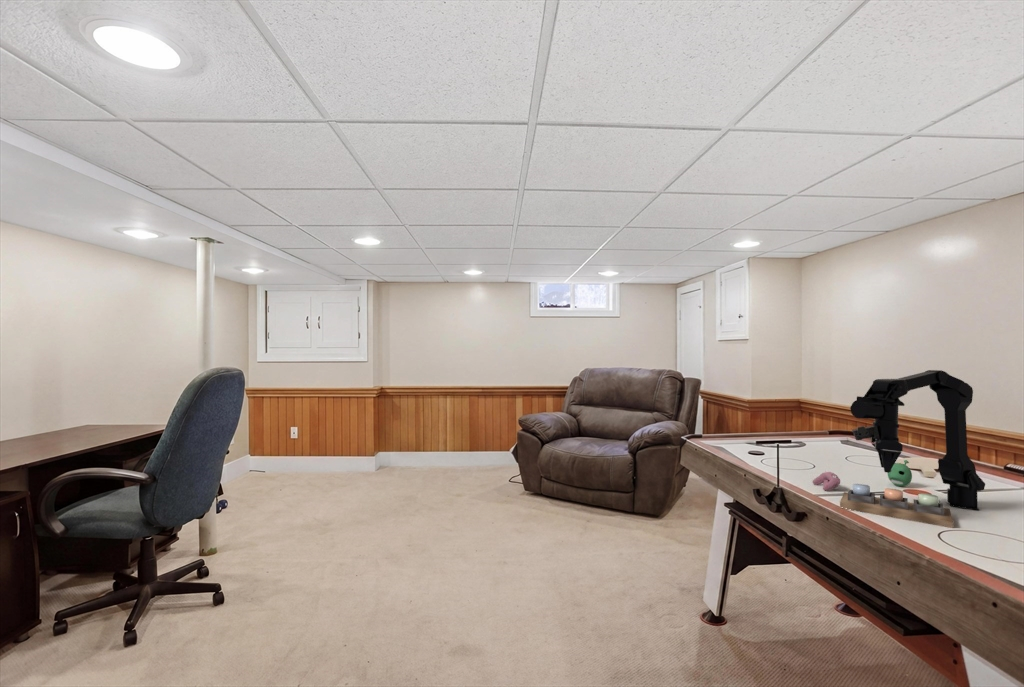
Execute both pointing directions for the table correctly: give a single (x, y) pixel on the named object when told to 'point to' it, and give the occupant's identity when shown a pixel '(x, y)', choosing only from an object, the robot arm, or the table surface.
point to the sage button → (928, 499)
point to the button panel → (898, 509)
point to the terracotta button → (893, 494)
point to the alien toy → (900, 474)
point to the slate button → (861, 490)
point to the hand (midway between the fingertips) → (885, 469)
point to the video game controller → (827, 481)
